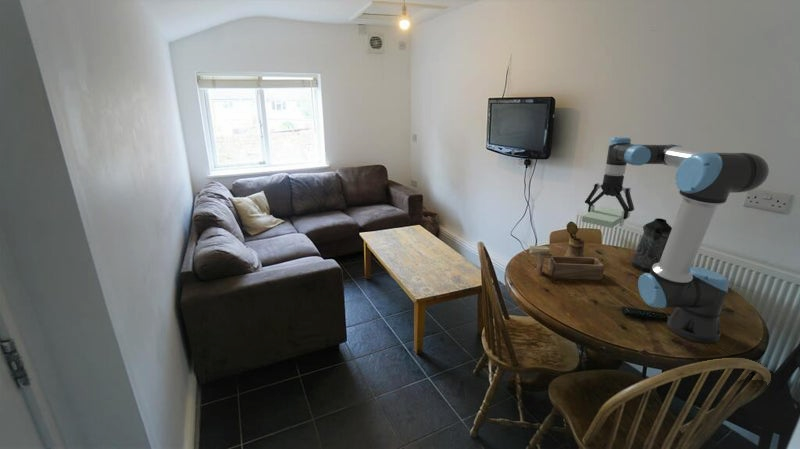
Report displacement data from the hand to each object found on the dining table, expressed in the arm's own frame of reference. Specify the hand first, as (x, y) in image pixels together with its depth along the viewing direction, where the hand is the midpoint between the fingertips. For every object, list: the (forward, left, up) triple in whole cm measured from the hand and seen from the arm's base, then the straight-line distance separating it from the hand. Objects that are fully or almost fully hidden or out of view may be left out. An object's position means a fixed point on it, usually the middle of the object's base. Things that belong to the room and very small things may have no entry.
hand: (605, 222), depth 168 cm
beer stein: (+12, -31, -27) cm, 43 cm away
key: (+2, +26, -17) cm, 31 cm away
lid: (0, 0, +2) cm, 2 cm away
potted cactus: (+22, +3, -27) cm, 35 cm away
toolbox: (+2, +12, -27) cm, 29 cm away
